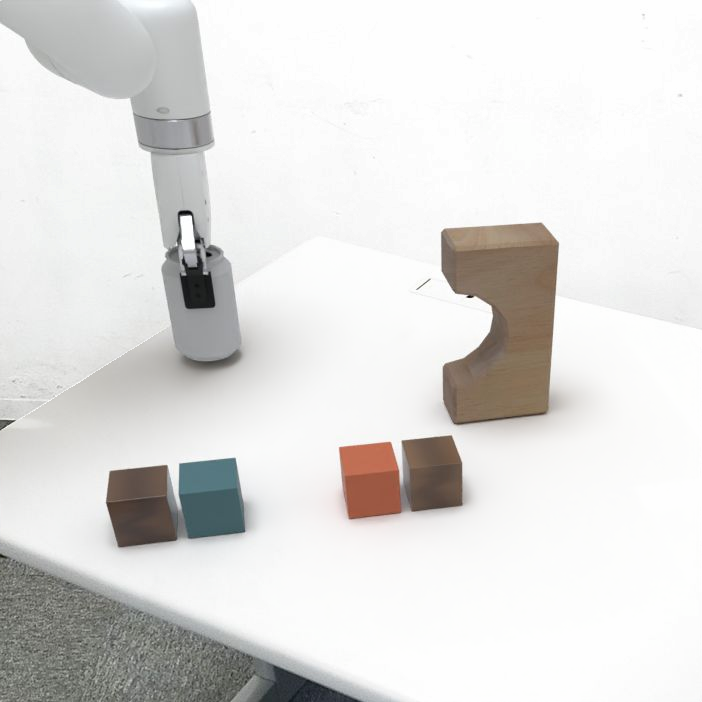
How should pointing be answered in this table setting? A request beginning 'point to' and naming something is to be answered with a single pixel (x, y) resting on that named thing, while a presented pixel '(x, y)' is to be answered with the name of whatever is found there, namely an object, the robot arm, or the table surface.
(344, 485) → the block
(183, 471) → the block
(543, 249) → the decorative block
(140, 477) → the block
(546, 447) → the table surface
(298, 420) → the table surface
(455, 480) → the block
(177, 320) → the can
